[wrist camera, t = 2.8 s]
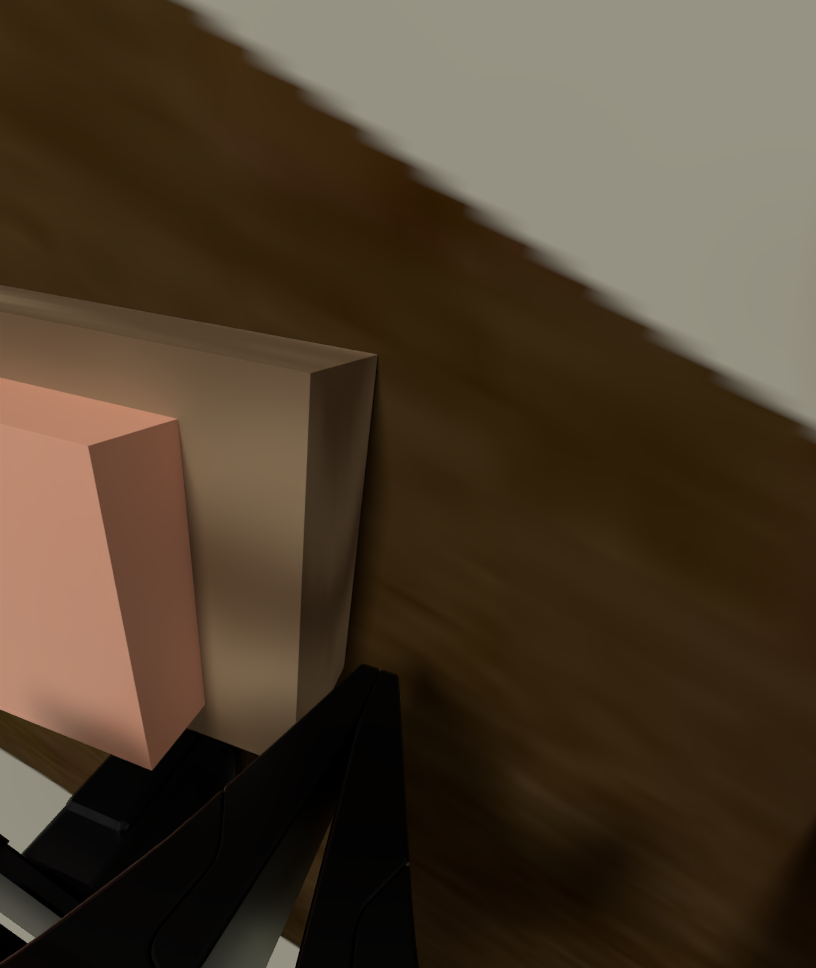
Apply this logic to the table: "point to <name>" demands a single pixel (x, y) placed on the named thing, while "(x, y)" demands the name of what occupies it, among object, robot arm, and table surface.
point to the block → (95, 573)
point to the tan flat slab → (233, 484)
